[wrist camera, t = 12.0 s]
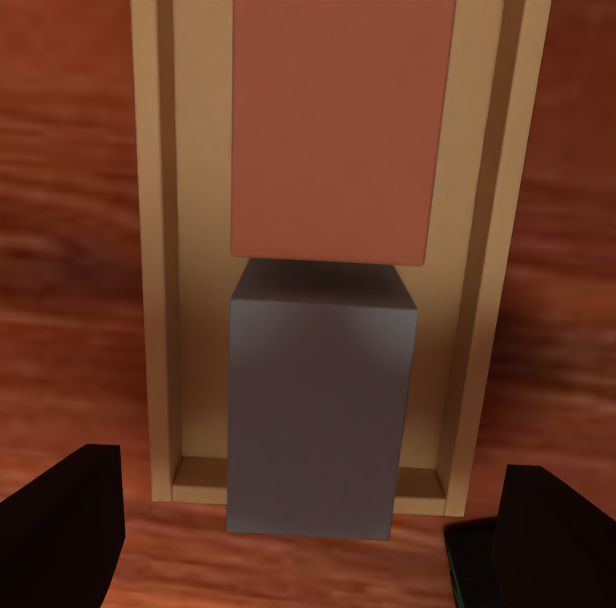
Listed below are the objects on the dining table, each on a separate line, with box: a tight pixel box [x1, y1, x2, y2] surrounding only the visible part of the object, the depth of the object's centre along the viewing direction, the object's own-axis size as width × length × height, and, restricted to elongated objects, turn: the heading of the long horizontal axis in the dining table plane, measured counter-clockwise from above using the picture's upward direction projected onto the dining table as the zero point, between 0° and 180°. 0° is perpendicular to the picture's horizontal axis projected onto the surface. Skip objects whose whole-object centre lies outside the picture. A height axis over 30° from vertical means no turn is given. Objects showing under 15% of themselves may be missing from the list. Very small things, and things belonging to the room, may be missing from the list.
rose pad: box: [231, 0, 457, 266], centre depth 12 cm, size 4×6×4 cm, turn 177°
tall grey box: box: [226, 257, 418, 541], centre depth 15 cm, size 4×6×4 cm, turn 177°
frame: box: [130, 0, 552, 517], centre depth 15 cm, size 9×15×2 cm, turn 177°
